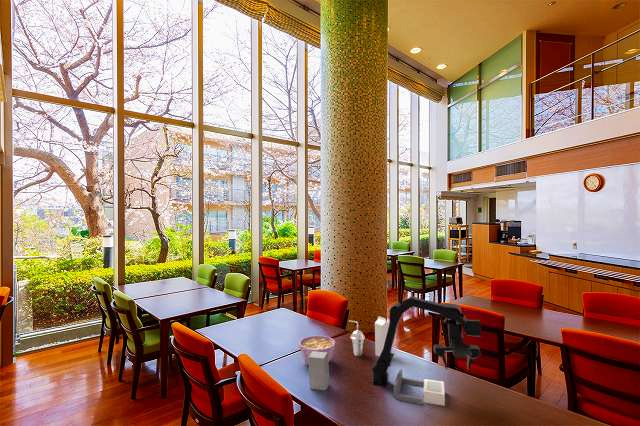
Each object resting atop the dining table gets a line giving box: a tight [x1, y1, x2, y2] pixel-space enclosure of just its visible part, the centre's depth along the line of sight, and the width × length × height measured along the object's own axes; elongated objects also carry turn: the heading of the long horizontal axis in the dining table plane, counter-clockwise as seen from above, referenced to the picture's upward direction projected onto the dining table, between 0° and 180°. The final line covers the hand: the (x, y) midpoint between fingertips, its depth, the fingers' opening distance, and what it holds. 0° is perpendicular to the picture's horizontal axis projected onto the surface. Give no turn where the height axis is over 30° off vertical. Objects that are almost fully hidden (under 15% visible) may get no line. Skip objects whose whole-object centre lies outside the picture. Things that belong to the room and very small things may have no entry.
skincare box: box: [307, 351, 330, 392], centre depth 154 cm, size 8×7×16 cm
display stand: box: [393, 368, 424, 406], centre depth 148 cm, size 12×16×6 cm
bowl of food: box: [299, 335, 336, 364], centre depth 179 cm, size 20×20×12 cm
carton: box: [423, 378, 446, 407], centre depth 144 cm, size 8×11×5 cm
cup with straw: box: [348, 319, 366, 357], centre depth 189 cm, size 8×9×20 cm
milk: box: [374, 315, 390, 357], centre depth 187 cm, size 6×6×22 cm
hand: (457, 369), depth 143 cm, fingers open, 9 cm apart
